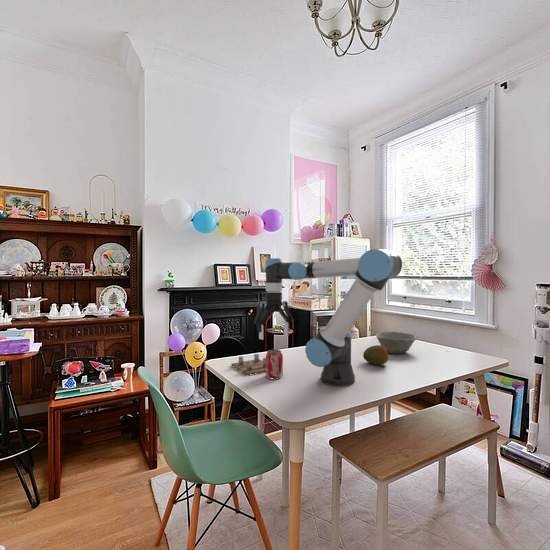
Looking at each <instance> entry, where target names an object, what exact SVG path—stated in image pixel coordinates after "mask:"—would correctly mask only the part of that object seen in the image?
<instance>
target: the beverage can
mask: <svg viewBox="0 0 550 550" xmlns="http://www.w3.org/2000/svg"><path fill="white" fill-rule="evenodd" d="M265 358H266V372H265V377H269V378H273V379H272V380H278V379H277V378H280V377H281V378H282V377H283V376H284V373H283V372H284V364H283V362H284V361H283V360H284V355H283V353H282V350H280V349H269V350H267V352H266V355H265ZM269 378H268V379H269ZM281 378H280V379H281Z"/></svg>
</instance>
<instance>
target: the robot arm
mask: <svg viewBox="0 0 550 550" xmlns="http://www.w3.org/2000/svg"><path fill="white" fill-rule="evenodd" d="M264 268H265V291H266V292H265V303H264V302H260V303H259V308H258V310H257V313H256V316H255V318H254V320H253V324H255V325H257V332H258V339H259V340H262V341H263V340H264V325H263V323H264V322H265V320H266V319H267V317H268V316H269V314H271V313H274V312H276V313H278V314H280V316H281V317H282V318H283V320H284V321H283V336H285V337H289V329H290V327H291V326H290V325H291V322H292V321H293V320H294V317H293V315H292V312H291V309H290V308H289V303H288V300H287V301H286V300H283V293H282V291H283V280H293V281H297V280H304V279H317V278H318V279H320V278H337V277H341V278H342V277H354V278H355V280H354V281H353V283H352V285H351V287H350V288H349V290H348V291H347V293H346V294H345V296H344V297H343V299H342V300H341V302H340V304H339V305H338V307H337V309H336V310H335V312H334V314H333V315H332V317H331V318H330V320H329V321H328V323H327V324H326V326H323V327H320V329H319V330H318V331H317V332H316V335H315V336H314V337H313V338H311V339H309V340H308V341H307V343H306V345H305V348H304V349H305V351H304V352H305V356H306V358H307V360H308V362H310V363H311V364H312V365H314V366H315V367H318V368H320V367H321V368H322V371H321V374H320V380H321V382H323V383H325V384H327V385H331V386H340V387H341V386H350V385H353V384H354V383H355V382H356V376H355V373H354V368H353V365H352V333H351V329H352V328H353V326H354V324H355V323H356V321H357V320H358V319H359V317H360V315H361V314H362V312H363V311H364V310H365V308H366V307H367V305H368V304H369V302H370V300H371V299H372V298H373V296H374V295H375V293H376V292H381V291H382V290H383V288H384V287H385V286H386V284H387V283H388V281H389V280H392V279H394V278H396V277H397V276H399V274H400V273H401V271H402V269H403V260H402V258H401V256H400V255H399V254H398V253H397V252H396V251H393V250H390V249H384V248H372V249H369V250H366V251H364V253H363V254H362V255H361V256H360V257H357V258H356V257H355V258H343V259H335V260H334V259H333V260H320V261H311V262H299V261H295V262H292V261H291V262H283V260H282V258H280V257H279V258H273V257H272V258H267V259H266V260H265V267H264ZM282 300H283V301H282Z"/></svg>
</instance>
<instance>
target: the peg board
mask: <svg viewBox="0 0 550 550" xmlns="http://www.w3.org/2000/svg"><path fill="white" fill-rule="evenodd" d="M253 358H254V359H251V360H250V359H249V360H244V356H238V362H234V363H231V364H230V365H232V366H234V367H235V368H237V369H238V370H240V371H242V372H243V373H245V374H246V375H245V374H244V375H245V376H247V375H249V376H251V375H250V374H254V375H256V374H255V373H259V374H262V373H261V372H264V373H266V357H263V358H262V360H261V359H260V354H259V353H254V357H253ZM232 366H231V367H232ZM234 367H233V368H234ZM235 368H234V369H235ZM237 369H236V370H237ZM238 370H237V371H238ZM240 371H239V372H240ZM242 372H241V373H242ZM243 373H242V374H243Z"/></svg>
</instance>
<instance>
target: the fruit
mask: <svg viewBox="0 0 550 550" xmlns="http://www.w3.org/2000/svg"><path fill="white" fill-rule="evenodd" d="M362 357H363V359H364V361H366V362H367V363H370V364H372V365H377V366H378V365H379V366H381V365H384V364H386V363H387V362H388V359H389V352H387V350H386V348H385V347H383V346H381V345H380V344H377V345H371V346H370V347H369V346H368V347H367V348H366V349H365V350H364V352H363V355H362Z"/></svg>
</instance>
